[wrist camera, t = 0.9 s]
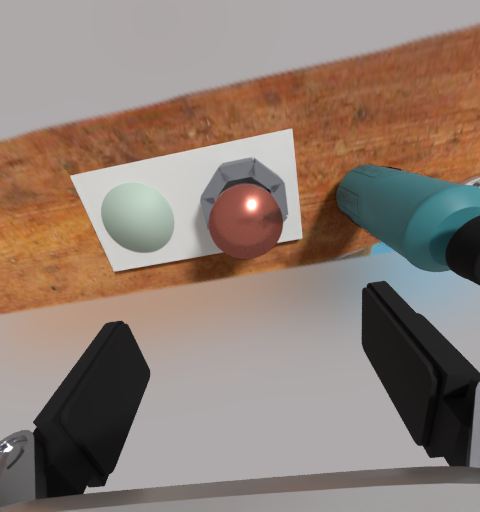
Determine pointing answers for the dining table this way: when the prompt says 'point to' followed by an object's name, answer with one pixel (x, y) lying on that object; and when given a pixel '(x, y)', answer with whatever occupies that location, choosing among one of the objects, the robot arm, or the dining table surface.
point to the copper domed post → (245, 221)
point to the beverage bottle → (417, 217)
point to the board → (184, 198)
